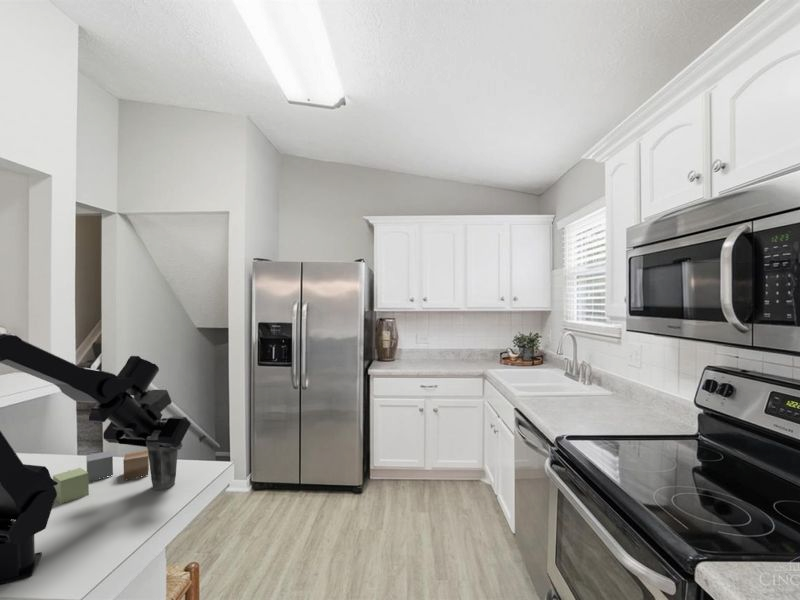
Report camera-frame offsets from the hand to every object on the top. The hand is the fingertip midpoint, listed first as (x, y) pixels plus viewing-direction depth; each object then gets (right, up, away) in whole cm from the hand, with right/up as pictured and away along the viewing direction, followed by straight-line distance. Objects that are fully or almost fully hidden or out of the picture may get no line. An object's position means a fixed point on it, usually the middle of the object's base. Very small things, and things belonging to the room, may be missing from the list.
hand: (167, 446), depth 98 cm
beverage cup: (0, -9, -1) cm, 9 cm away
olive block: (-18, -9, -6) cm, 21 cm away
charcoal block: (-20, -9, +5) cm, 22 cm away
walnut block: (-11, -9, +5) cm, 15 cm away
